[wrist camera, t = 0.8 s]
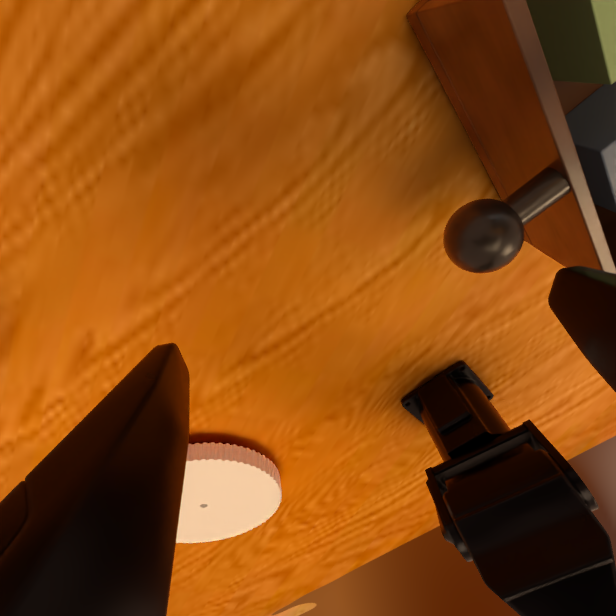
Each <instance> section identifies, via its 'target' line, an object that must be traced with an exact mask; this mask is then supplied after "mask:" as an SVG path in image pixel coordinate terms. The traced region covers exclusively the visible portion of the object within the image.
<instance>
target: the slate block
mask: <svg viewBox="0 0 616 616" xmlns="http://www.w3.org/2000/svg"><path fill="white" fill-rule="evenodd" d="M565 118H566V121H567V124H568V127H569V130H570V133H571V136H572V139H573V142H574V145H575V148H576V151H577V154H578V157H579V160H580V163H581V166H582V169H583V172H584V175H585V178H586V181H587V184H588V187H589V190H590V193H591V196H592V199H593V202H594V204H596V205H598V206H600V207H603V208H605V209H608V210H610V211H613V212H615V213H616V82H614V83H613V84H611V85H608V84H604V85H603V86H602V87H600V88H599V89H598V90H597V91H595V92H594V93H593V94H592V95H590V96H589V97H588V98H587V99H585V100H584V101H583V102H582V103H580V104H579V105H578V106H577V107H575V108H574V109H573V110H572V111H570V112H569V113H568V114H567V115H565Z"/></svg>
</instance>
